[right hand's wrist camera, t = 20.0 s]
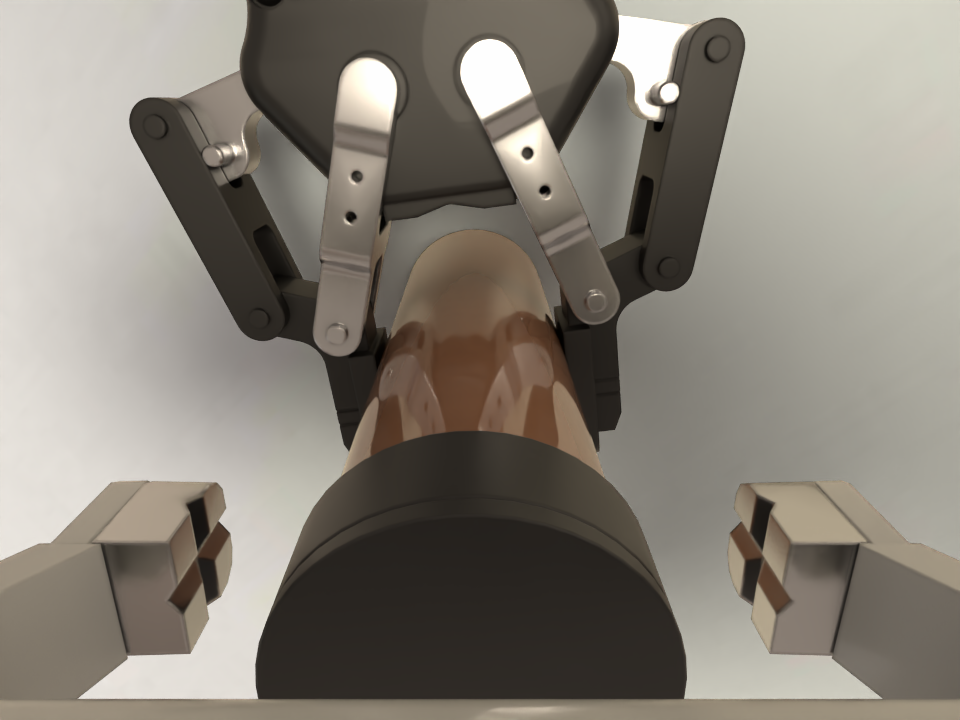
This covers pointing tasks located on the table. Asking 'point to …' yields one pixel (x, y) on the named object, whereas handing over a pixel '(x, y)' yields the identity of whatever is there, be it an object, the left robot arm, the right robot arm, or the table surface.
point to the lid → (471, 583)
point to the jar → (473, 355)
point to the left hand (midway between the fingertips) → (486, 448)
